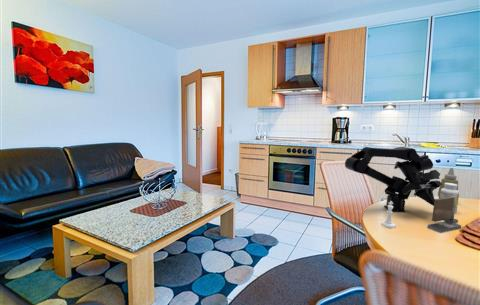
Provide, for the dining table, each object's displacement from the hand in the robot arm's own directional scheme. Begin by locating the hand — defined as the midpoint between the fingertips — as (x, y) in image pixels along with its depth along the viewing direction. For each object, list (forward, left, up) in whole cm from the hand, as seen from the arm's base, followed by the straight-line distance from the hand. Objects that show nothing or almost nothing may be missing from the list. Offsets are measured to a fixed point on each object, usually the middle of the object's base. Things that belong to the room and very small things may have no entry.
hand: (434, 205), depth 104 cm
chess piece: (-23, -6, -7) cm, 24 cm away
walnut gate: (+2, -3, -5) cm, 6 cm away
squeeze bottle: (+26, +24, -7) cm, 36 cm away
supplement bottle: (+16, +12, -7) cm, 21 cm away
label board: (+1, -5, -7) cm, 8 cm away
